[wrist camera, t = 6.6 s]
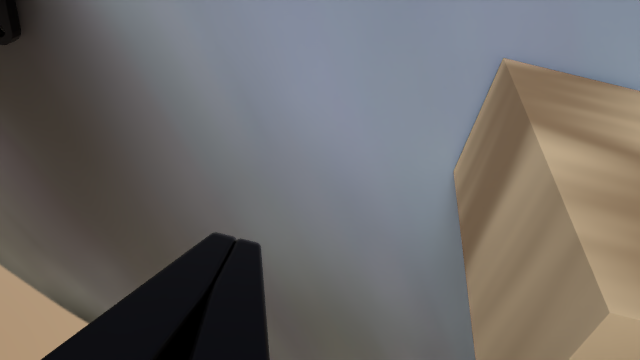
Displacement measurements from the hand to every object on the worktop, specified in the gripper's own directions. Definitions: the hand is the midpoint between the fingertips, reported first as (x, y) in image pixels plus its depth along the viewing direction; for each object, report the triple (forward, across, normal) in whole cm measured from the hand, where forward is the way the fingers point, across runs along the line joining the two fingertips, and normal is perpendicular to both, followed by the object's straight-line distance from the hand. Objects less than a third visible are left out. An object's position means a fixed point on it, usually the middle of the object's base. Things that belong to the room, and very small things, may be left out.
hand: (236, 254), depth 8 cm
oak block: (+8, -7, 0) cm, 11 cm away
